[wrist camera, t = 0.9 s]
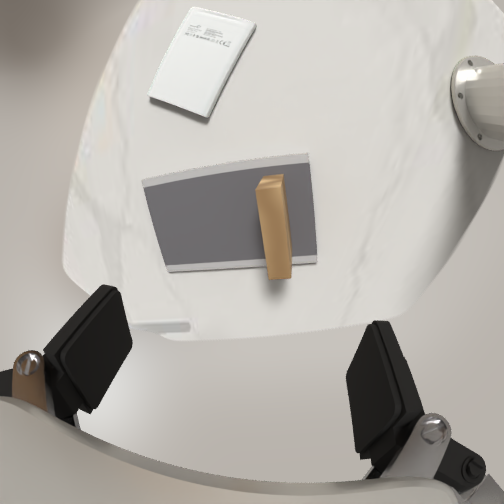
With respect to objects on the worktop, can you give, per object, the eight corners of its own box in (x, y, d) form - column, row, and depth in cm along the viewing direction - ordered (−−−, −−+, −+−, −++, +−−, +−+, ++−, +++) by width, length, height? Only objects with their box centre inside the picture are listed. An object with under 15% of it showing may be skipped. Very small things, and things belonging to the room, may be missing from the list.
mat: (307, 152, 27) (308, 153, 27) (317, 260, 33) (317, 262, 32) (143, 179, 31) (141, 180, 31) (169, 269, 37) (167, 271, 36)
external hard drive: (152, 96, 27) (195, 10, 21) (210, 117, 28) (257, 27, 22) (145, 95, 26) (190, 5, 20) (205, 117, 26) (255, 22, 20)
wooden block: (283, 173, 28) (280, 187, 23) (292, 249, 32) (291, 278, 26) (263, 176, 29) (255, 190, 23) (273, 250, 33) (268, 279, 27)
